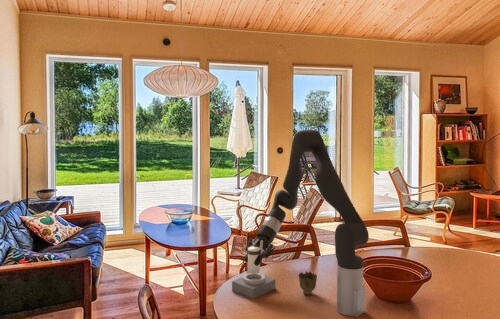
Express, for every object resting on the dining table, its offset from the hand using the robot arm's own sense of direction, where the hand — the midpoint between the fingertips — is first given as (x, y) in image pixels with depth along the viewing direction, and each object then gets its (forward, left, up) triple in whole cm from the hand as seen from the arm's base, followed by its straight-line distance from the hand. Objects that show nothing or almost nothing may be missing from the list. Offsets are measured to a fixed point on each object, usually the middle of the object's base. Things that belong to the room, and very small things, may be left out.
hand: (250, 263), depth 157 cm
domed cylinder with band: (0, -2, -4) cm, 5 cm away
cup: (-19, -14, -12) cm, 26 cm away
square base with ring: (0, -2, -12) cm, 12 cm away
